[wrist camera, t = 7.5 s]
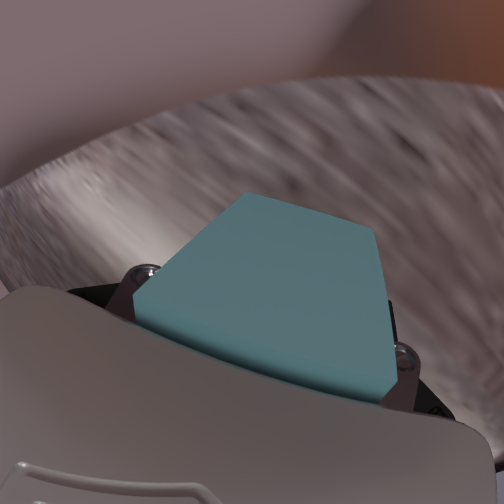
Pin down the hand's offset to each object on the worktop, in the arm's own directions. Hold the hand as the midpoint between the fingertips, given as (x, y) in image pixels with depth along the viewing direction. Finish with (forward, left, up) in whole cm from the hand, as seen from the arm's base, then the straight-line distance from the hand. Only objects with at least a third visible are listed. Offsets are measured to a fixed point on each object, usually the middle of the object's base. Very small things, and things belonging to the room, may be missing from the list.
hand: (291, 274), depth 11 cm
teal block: (0, 0, -1) cm, 1 cm away
